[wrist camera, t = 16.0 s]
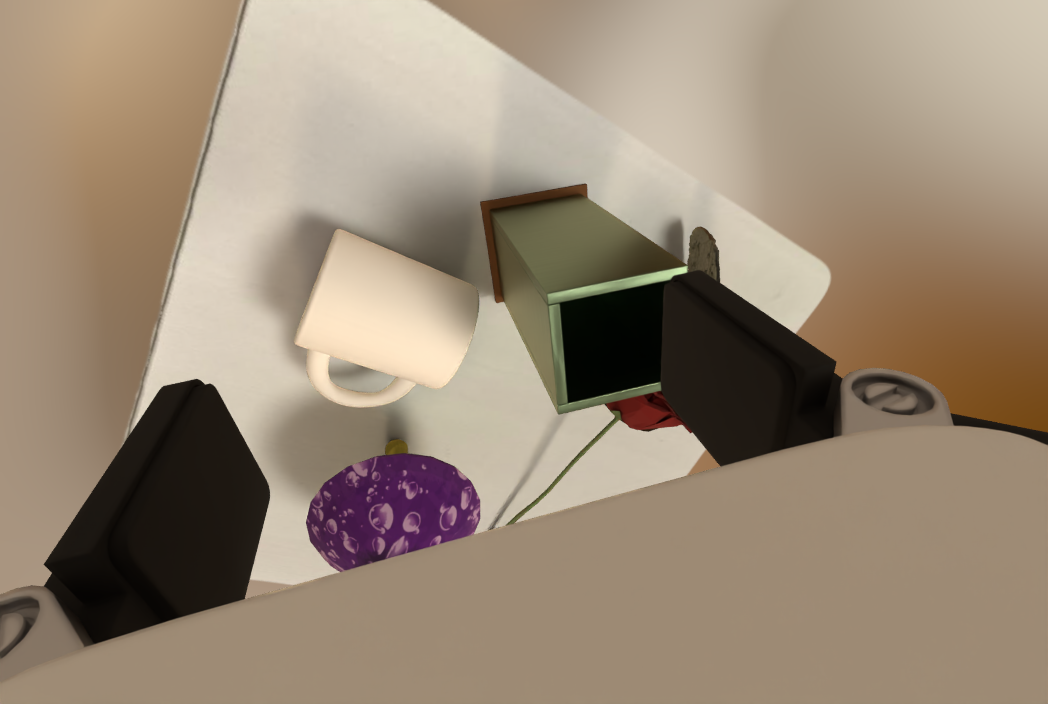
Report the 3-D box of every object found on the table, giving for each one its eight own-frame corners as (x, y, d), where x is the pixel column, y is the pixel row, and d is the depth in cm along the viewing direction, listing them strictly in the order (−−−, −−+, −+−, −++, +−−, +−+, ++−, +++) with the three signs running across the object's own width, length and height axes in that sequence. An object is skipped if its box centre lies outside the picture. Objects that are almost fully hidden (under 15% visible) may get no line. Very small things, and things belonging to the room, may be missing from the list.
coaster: (480, 201, 36) (480, 202, 36) (586, 183, 37) (587, 184, 37) (495, 302, 40) (496, 303, 40) (590, 283, 42) (591, 284, 41)
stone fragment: (685, 220, 40) (717, 242, 36) (693, 219, 40) (726, 240, 36) (678, 325, 46) (705, 354, 42) (685, 323, 46) (713, 352, 42)
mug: (341, 213, 35) (329, 249, 28) (471, 270, 39) (488, 314, 32) (286, 356, 39) (264, 417, 32) (410, 393, 43) (413, 455, 36)
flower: (433, 596, 48) (642, 387, 34) (433, 502, 56) (602, 301, 42) (529, 612, 53) (746, 434, 39) (516, 523, 61) (692, 349, 47)
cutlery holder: (489, 209, 37) (546, 293, 23) (581, 193, 37) (688, 265, 24) (501, 296, 40) (558, 415, 27) (585, 280, 41) (681, 386, 27)
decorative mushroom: (352, 365, 40) (333, 502, 28) (489, 409, 45) (528, 543, 33) (300, 478, 44) (263, 644, 32) (432, 507, 50) (445, 660, 37)
